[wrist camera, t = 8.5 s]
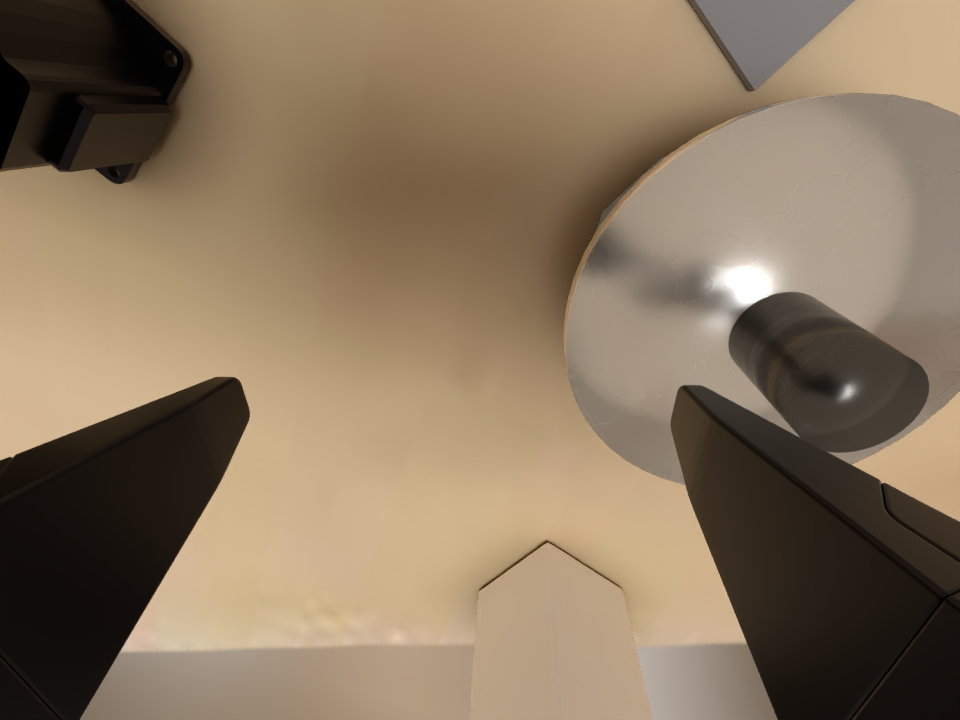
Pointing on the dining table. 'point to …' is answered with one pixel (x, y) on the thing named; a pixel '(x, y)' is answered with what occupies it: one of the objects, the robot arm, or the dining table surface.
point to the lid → (779, 279)
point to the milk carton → (555, 646)
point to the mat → (764, 31)
